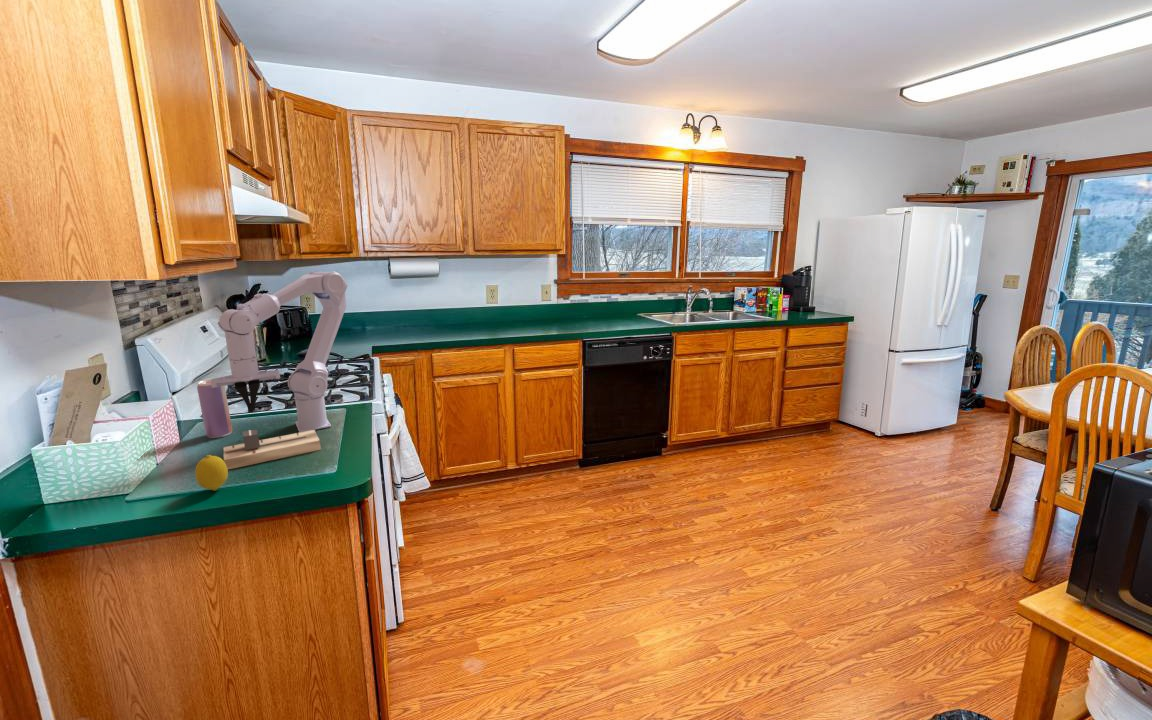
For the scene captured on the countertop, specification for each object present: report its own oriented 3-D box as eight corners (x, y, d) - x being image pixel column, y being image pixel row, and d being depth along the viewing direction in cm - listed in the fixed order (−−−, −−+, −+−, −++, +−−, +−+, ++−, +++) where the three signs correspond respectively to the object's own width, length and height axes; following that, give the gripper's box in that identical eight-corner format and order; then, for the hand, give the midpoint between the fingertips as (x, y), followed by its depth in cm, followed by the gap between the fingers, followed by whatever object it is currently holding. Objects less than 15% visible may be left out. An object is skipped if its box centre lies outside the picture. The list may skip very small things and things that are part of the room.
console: (225, 456, 125) (223, 446, 125) (315, 438, 136) (314, 429, 136) (225, 470, 118) (223, 459, 118) (320, 449, 129) (319, 439, 128)
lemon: (221, 482, 112) (215, 448, 110) (236, 487, 110) (229, 452, 108) (193, 493, 107) (186, 457, 106) (208, 499, 105) (201, 462, 103)
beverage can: (219, 439, 136) (209, 385, 133) (200, 438, 137) (190, 384, 134) (238, 431, 142) (229, 379, 138) (220, 429, 143) (210, 378, 140)
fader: (244, 444, 125) (242, 431, 124) (258, 442, 127) (256, 428, 126) (245, 450, 122) (243, 436, 121) (260, 447, 123) (257, 433, 123)
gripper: (207, 365, 120) (217, 420, 123) (277, 356, 128) (285, 408, 131) (207, 359, 126) (217, 412, 129) (275, 351, 134) (282, 401, 137)
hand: (251, 409), depth 131 cm, fingers closed
